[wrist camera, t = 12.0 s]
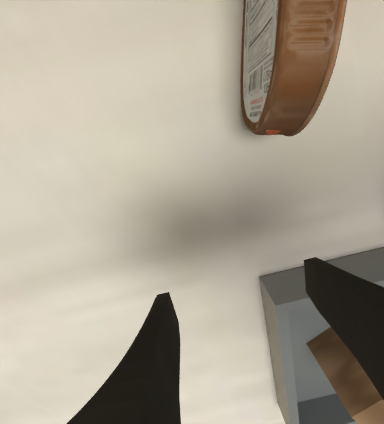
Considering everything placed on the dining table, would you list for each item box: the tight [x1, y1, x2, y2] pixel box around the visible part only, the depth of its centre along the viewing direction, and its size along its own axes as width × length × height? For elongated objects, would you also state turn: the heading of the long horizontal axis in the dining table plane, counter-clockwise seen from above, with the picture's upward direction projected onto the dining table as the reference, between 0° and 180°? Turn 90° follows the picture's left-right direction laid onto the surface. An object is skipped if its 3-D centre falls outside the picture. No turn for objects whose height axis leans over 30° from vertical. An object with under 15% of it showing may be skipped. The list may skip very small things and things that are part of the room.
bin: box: [259, 247, 384, 424], centre depth 25 cm, size 13×20×4 cm, turn 13°
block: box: [306, 327, 384, 424], centre depth 23 cm, size 4×4×7 cm
